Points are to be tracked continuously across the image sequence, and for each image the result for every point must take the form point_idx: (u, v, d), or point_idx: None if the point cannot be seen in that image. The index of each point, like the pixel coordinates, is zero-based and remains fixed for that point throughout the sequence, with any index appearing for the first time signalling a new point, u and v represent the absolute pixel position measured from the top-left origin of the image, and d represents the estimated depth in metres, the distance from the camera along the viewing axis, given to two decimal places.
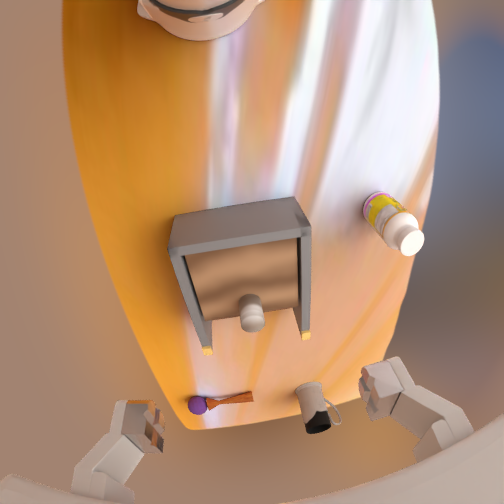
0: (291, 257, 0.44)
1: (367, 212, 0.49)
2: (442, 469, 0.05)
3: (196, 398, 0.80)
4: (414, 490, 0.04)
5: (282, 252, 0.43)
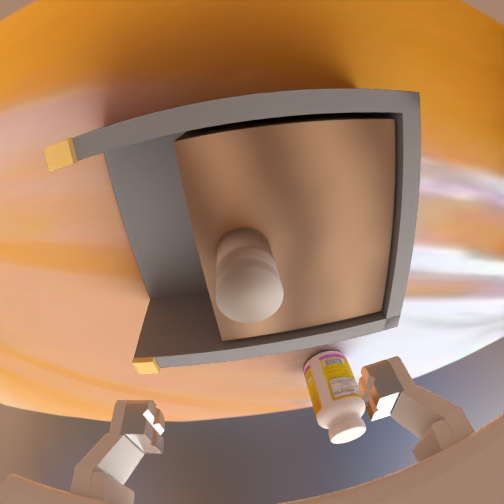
0: (346, 311, 0.23)
1: (332, 361, 0.37)
2: (442, 469, 0.05)
3: None
4: (414, 490, 0.04)
5: (361, 296, 0.23)
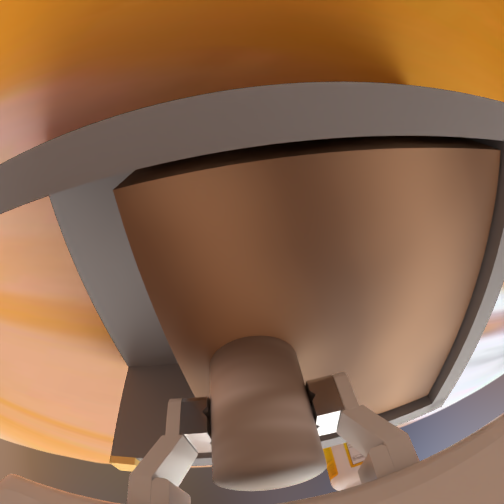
0: (387, 405, 0.15)
1: None
2: (442, 469, 0.05)
3: None
4: (414, 490, 0.04)
5: (409, 387, 0.15)
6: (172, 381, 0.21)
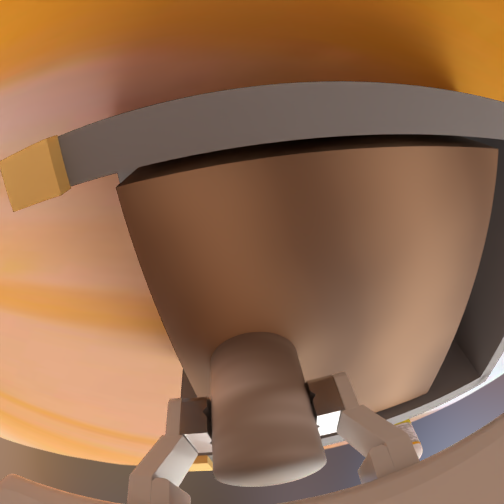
0: (386, 403, 0.15)
1: None
2: (442, 469, 0.05)
3: None
4: (414, 490, 0.04)
5: (409, 385, 0.15)
6: None
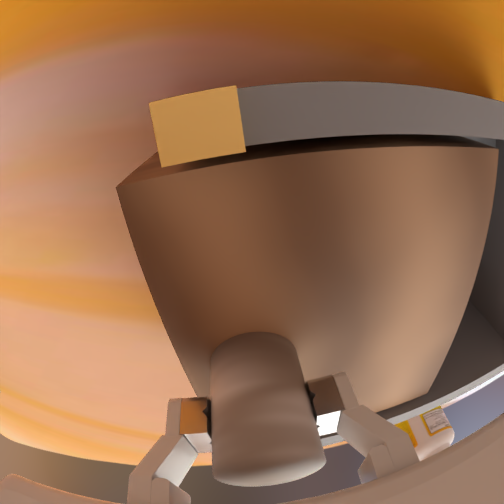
0: (387, 403, 0.15)
1: None
2: (442, 469, 0.05)
3: None
4: (414, 490, 0.04)
5: (409, 385, 0.15)
6: None
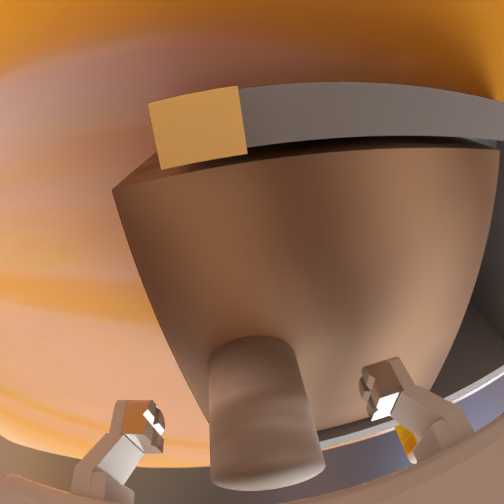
0: None
1: None
2: (442, 469, 0.05)
3: None
4: (414, 490, 0.04)
5: None
6: None
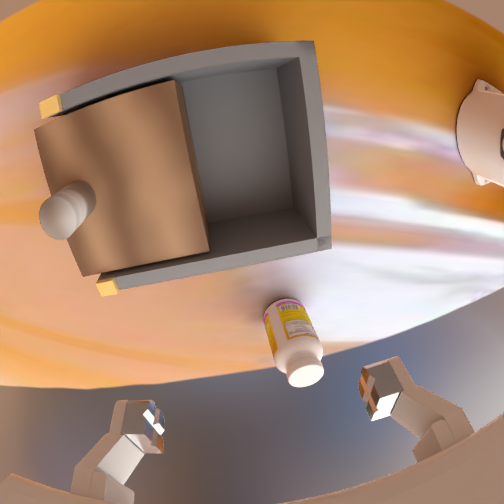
0: (172, 250, 0.27)
1: (288, 306, 0.42)
2: (442, 469, 0.05)
3: None
4: (414, 490, 0.04)
5: (181, 234, 0.27)
6: None
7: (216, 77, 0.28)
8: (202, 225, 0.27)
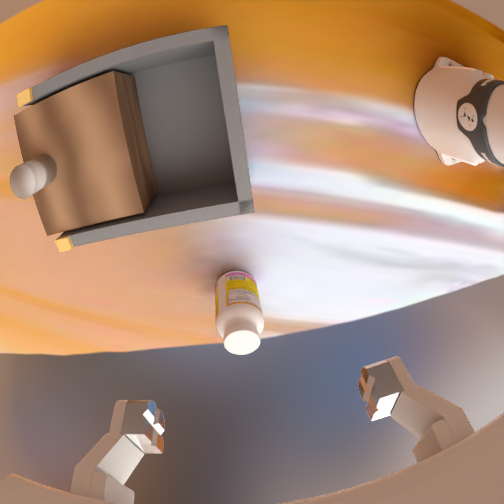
0: (113, 211, 0.30)
1: (235, 277, 0.44)
2: (442, 469, 0.05)
3: None
4: (414, 490, 0.04)
5: (120, 197, 0.30)
6: None
7: (162, 66, 0.30)
8: (136, 189, 0.29)
